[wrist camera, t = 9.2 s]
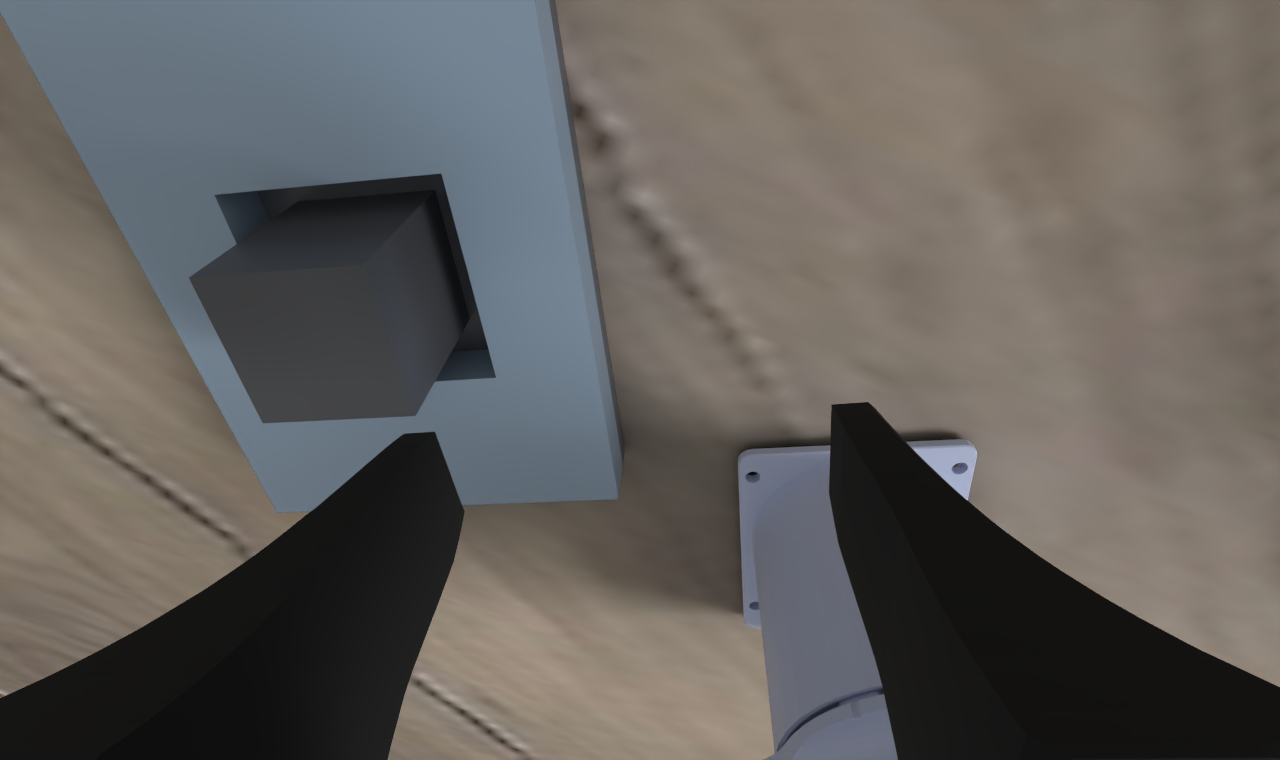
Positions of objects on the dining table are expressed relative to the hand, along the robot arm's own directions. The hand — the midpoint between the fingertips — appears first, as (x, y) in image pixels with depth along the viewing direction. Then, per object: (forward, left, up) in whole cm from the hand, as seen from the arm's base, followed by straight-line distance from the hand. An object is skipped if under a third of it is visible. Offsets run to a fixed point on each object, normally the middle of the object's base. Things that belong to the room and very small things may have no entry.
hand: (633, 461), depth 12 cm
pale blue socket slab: (+1, +8, -9) cm, 12 cm away
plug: (+1, +8, -9) cm, 12 cm away
